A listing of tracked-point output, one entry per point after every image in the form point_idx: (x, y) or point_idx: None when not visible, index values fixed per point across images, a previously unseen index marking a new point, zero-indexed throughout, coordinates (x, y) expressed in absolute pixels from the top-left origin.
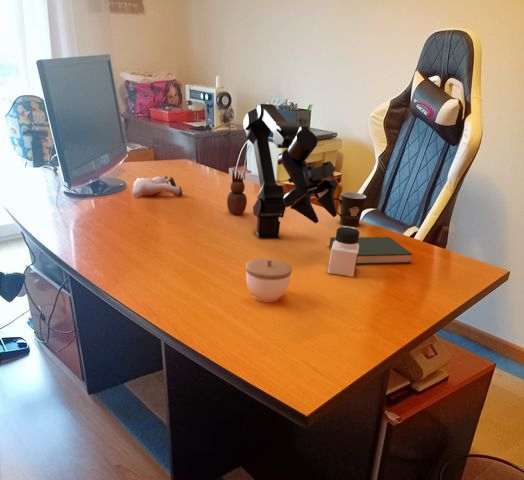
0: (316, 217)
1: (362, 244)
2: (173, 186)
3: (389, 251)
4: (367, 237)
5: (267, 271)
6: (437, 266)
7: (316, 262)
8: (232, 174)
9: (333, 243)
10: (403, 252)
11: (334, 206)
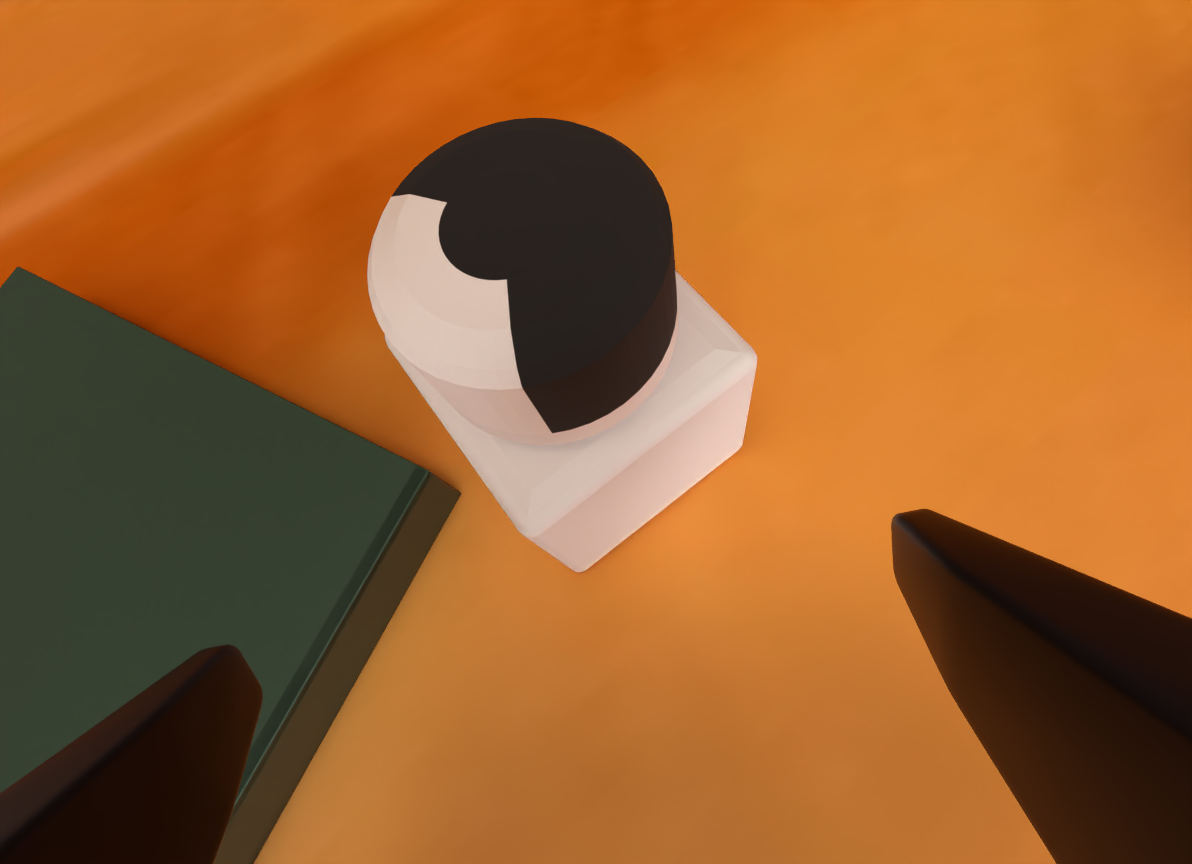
0: (975, 538)
1: (91, 605)
2: None
3: (89, 372)
4: None
5: None
6: (15, 206)
7: (647, 684)
8: None
9: (610, 465)
10: (35, 311)
11: (39, 782)
